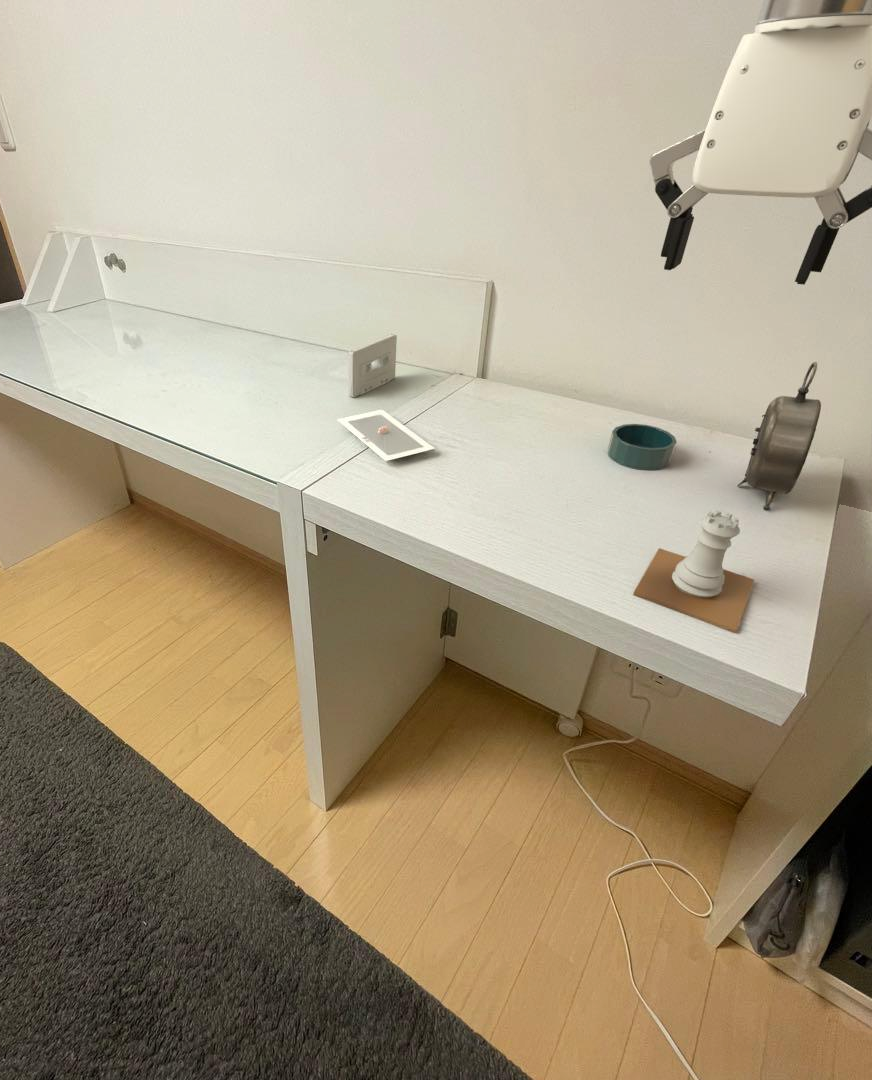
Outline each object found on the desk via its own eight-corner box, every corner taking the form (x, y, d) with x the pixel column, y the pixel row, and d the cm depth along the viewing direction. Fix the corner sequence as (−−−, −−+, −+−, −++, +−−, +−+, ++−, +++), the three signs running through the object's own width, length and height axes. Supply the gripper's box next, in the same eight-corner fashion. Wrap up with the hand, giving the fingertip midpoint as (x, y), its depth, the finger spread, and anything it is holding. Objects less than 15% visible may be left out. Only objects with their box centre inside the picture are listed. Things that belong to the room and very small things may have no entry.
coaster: (753, 582, 61) (754, 579, 61) (735, 633, 55) (737, 630, 55) (658, 550, 66) (659, 547, 65) (632, 594, 60) (634, 591, 60)
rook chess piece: (690, 566, 63) (717, 500, 58) (731, 591, 59) (762, 523, 55) (660, 579, 61) (685, 512, 57) (699, 605, 58) (729, 537, 53)
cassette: (354, 399, 101) (354, 353, 97) (346, 396, 102) (345, 350, 98) (397, 378, 109) (399, 334, 104) (389, 376, 110) (390, 332, 105)
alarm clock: (781, 519, 70) (847, 383, 61) (728, 506, 72) (783, 373, 63) (785, 478, 77) (844, 351, 68) (737, 468, 80) (787, 344, 70)
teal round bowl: (676, 453, 84) (682, 433, 82) (660, 476, 79) (667, 455, 77) (617, 438, 88) (622, 419, 86) (599, 459, 83) (604, 439, 81)
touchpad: (381, 416, 96) (382, 403, 94) (434, 455, 84) (435, 441, 83) (336, 426, 93) (336, 412, 92) (385, 468, 82) (385, 453, 81)
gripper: (991, -5, 39) (862, 277, 49) (697, 19, 48) (638, 255, 58) (1002, -18, 34) (857, 297, 44) (673, 12, 43) (614, 270, 53)
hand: (733, 273), depth 51 cm, fingers open, 9 cm apart
